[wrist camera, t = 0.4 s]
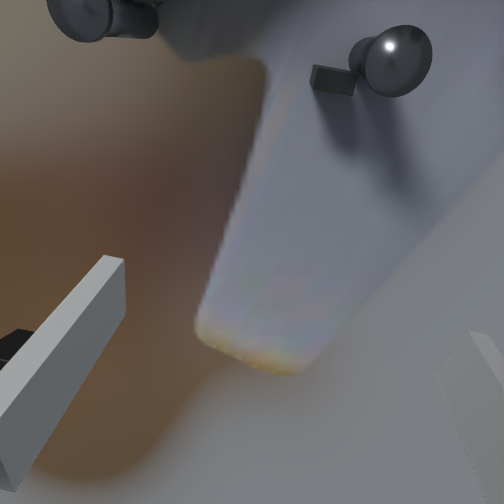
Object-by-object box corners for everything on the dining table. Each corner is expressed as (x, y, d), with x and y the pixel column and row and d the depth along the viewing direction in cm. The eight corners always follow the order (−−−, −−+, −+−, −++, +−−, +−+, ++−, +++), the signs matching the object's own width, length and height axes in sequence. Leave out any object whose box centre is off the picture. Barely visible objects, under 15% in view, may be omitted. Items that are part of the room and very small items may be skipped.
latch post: (322, 23, 30) (335, 12, 21) (396, 36, 30) (443, 31, 20) (309, 82, 32) (316, 96, 23) (378, 94, 32) (412, 113, 23)
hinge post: (118, -14, 30) (40, -41, 21) (162, -6, 30) (105, -29, 21) (120, 39, 32) (51, 36, 23) (162, 47, 32) (109, 47, 23)
